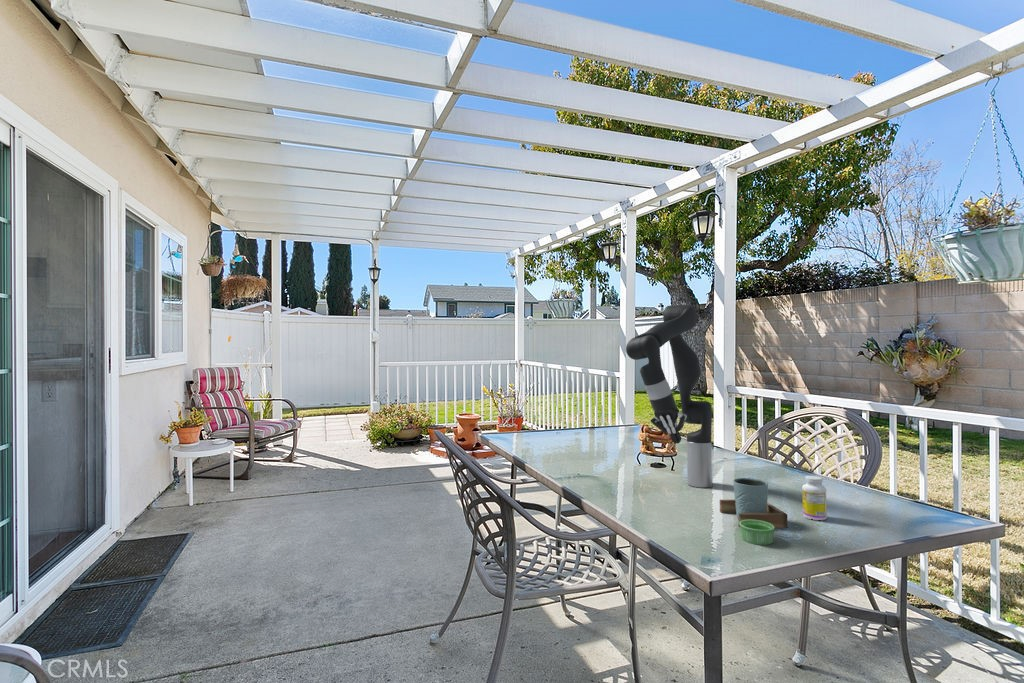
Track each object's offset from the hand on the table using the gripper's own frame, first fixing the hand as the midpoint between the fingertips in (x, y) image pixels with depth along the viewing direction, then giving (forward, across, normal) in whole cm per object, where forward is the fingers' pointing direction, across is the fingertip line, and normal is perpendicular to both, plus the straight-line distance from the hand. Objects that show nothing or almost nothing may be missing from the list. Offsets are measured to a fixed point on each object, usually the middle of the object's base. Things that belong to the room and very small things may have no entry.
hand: (677, 442), depth 168 cm
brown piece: (+28, -14, -2) cm, 32 cm away
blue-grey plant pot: (+29, -14, -2) cm, 32 cm away
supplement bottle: (+36, -28, -16) cm, 48 cm away
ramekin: (+25, -22, +14) cm, 36 cm away
